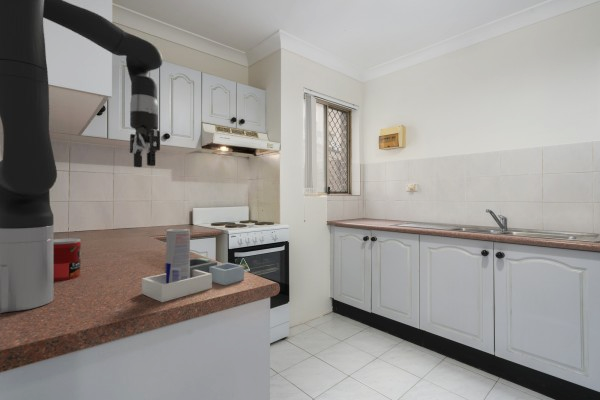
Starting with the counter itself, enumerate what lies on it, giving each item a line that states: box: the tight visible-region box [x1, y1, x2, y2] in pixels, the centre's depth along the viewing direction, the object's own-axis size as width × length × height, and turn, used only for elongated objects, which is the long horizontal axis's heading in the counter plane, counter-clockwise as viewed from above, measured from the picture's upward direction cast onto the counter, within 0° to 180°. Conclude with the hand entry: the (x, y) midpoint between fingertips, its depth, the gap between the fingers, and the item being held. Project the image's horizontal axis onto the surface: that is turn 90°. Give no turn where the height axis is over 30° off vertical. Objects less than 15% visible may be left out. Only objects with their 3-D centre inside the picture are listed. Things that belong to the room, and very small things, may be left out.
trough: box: [141, 269, 213, 303], centre depth 77 cm, size 14×10×4 cm
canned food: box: [53, 237, 82, 282], centre depth 88 cm, size 8×8×11 cm
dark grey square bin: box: [164, 257, 218, 278], centre depth 89 cm, size 10×10×5 cm
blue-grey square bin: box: [209, 262, 245, 286], centre depth 87 cm, size 7×7×4 cm
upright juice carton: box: [165, 228, 191, 284], centre depth 77 cm, size 6×6×15 cm
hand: (144, 166), depth 91 cm, fingers open, 8 cm apart
